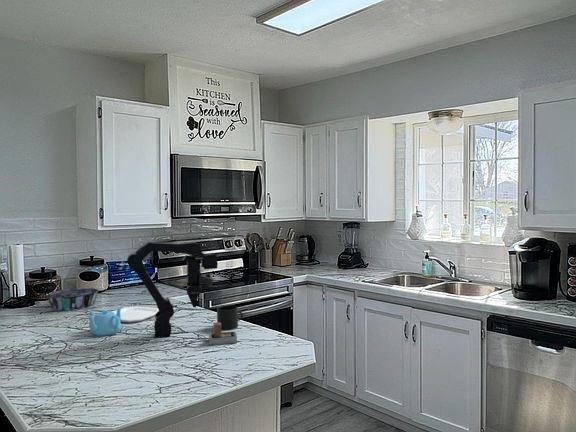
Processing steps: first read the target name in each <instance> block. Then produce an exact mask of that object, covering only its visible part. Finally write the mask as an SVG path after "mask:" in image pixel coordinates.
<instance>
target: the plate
mask: <svg viewBox="0 0 576 432" xmlns="http://www.w3.org/2000/svg"><path fill="white" fill-rule="evenodd" d="M158 311H159V309H158V307H146V306H137V305H135V306H124V307H122V308H121V311H120V314H121V320H120V323H128V324H131V323H132V324H133V323H138V322H139V323H140V322H142V321H144V320H147V319H148V320H149V319H150V318H153V317H155V316H154V315H155V314H156V313H157V312H158ZM111 312H114V313H115V314H116V313H117V309H116V310H112V311H111Z"/></svg>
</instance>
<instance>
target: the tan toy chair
mask: <svg viewBox="0 0 576 432" xmlns="http://www.w3.org/2000/svg"><path fill="white" fill-rule="evenodd" d="M213 333H214V338H220V337H231V333H229V334H221V333H222V329H221V322H218V323H217V322H213Z"/></svg>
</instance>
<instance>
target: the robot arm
mask: <svg viewBox="0 0 576 432" xmlns="http://www.w3.org/2000/svg"><path fill="white" fill-rule="evenodd" d="M152 252H163V253H165V252H166V253H179V254H183V255H184V256H183V258H182V261H184V262H186V270H187V272H186V275H187V279H186V280H187V281H186V284H187V285H186V293H187V296H188V297H189V301H190V302H191V305H192V307H193V308H196V307H197V305H198V304H197V303H198V299H199V296H200V295H201V294H202V293H203V289H202V284H203V285H207V286H208V287H212V285H213V282H214V278H213V277H211V274H209V273H206V274H205V275H203V274H202V272H201V268H203V270H217V269H218V258H217V254H216V253H210V254H209V253H207V254H204V252H203V251H202V250H201V246H200V244H199V243H197V242H195V241H187V242H180V243H171V242H152V241H147V242H146V243H145V244H144V245H143V246H141V247H140V248H139V249H138V250H136V252H132V253H130V254H128V255H127V258H126V262H127V266H129V268H130V269H132V271H134V273H135V274H137V276H138V277H139V278H140V280H141V282H142V283H143V284H144V286H145V288H146V290H147V291H148V293H149V294H150V296H151V297H152V299H153V300H154V302H155V304H156V308H158V309H159V311H158V312H157V313H156V314H155V315H154V316H153V317H154V318H155V321H154V337H153V338H155V339H156V338H168V337H171V335H172V323H170V320H171V319H172V317H173V316H174V314H175V310H174V309H175V307H174V305H173V303H171V301H170V298H169V297H166V298H165V297H164V296H163V294H162V293H161V292H160V290H159V289H158V287H157V286H156V284H155V283H154V280H153V279H152V278H151V276H150V275H149V272H148V271H147V270H146V268H145V265H144V262H143V260H144V259H145V258H146V257H147V256H148V255H150V254H151V253H152ZM196 256H197V257H196Z"/></svg>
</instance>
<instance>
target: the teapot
mask: <svg viewBox="0 0 576 432" xmlns="http://www.w3.org/2000/svg"><path fill="white" fill-rule="evenodd" d="M121 308H123V305H120V306H119V307H118V308H117V309H116V310H117V313H116V314H115V313H114V312H112V311H109V309H103V310H101V312H99V313H97V314H96V315H95V313H94V311H93V310H91V309H87V311H88V313H89V315H87V316H86V317H88V318H89V332H90V333H91V334H92V335H93V336H95V337H96V336H98V337H105V336H112V335H115V334H117V333H119V332H120V331H121V329H122V322H120V320H121V314H120V311H121Z"/></svg>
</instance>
